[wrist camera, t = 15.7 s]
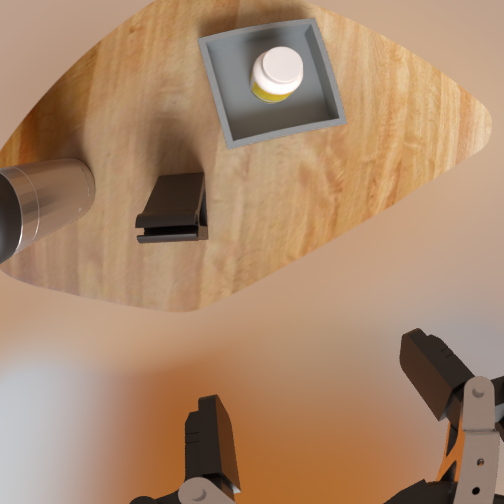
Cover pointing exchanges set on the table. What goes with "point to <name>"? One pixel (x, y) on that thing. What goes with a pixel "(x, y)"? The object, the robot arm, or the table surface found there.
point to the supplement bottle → (276, 75)
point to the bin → (255, 111)
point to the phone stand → (175, 210)
